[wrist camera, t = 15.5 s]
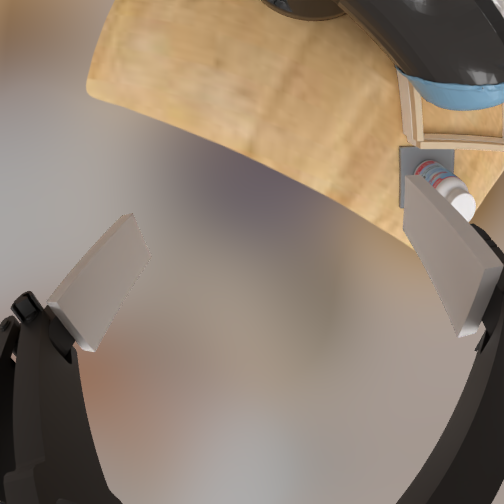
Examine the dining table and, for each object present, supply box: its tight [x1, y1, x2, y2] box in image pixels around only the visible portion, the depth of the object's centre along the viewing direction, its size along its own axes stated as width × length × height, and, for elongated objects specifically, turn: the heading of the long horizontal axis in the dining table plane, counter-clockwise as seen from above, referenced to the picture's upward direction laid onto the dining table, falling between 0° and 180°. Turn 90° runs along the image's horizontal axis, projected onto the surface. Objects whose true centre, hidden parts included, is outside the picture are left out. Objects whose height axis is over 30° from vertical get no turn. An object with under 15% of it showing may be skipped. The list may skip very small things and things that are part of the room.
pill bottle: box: [414, 160, 476, 222], centre depth 31 cm, size 6×6×11 cm
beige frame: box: [396, 69, 504, 152], centre depth 27 cm, size 12×22×5 cm, turn 102°
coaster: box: [399, 146, 454, 208], centre depth 36 cm, size 10×10×1 cm
